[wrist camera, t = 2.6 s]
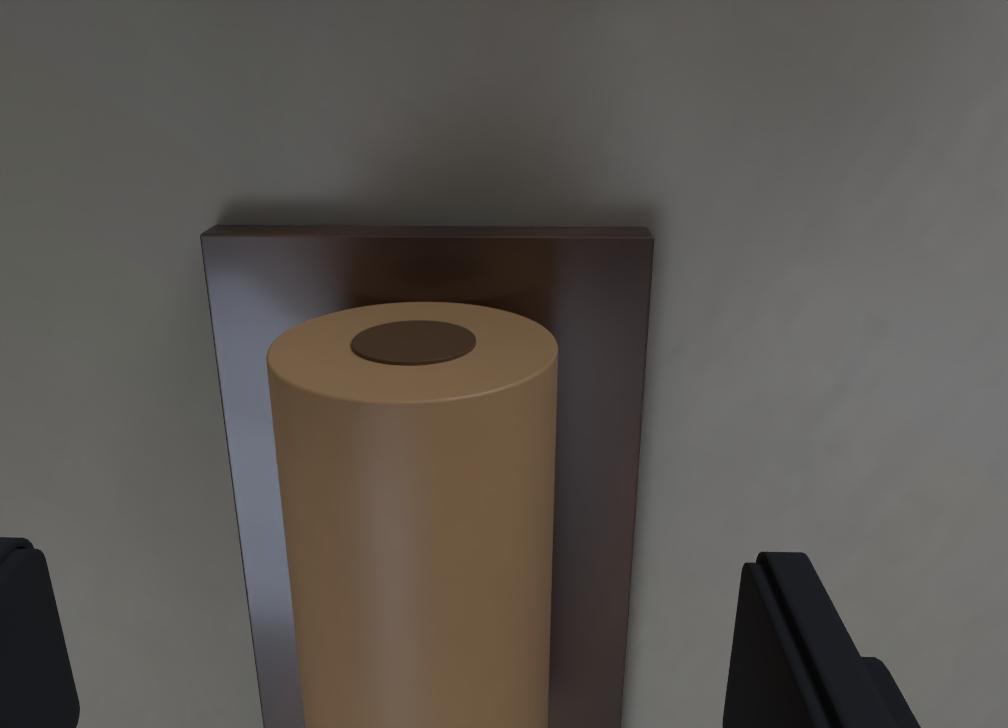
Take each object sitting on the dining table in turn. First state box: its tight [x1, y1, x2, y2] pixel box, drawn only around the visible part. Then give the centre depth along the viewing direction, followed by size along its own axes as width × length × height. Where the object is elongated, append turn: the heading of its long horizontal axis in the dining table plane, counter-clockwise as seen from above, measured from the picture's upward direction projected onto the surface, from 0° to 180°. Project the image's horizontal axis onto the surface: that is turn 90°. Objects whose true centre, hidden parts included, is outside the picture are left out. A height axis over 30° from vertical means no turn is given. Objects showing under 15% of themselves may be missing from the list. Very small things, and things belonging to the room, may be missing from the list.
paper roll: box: [266, 302, 558, 728], centre depth 19 cm, size 6×12×6 cm, turn 0°
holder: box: [200, 225, 654, 728], centre depth 22 cm, size 10×19×1 cm, turn 0°
